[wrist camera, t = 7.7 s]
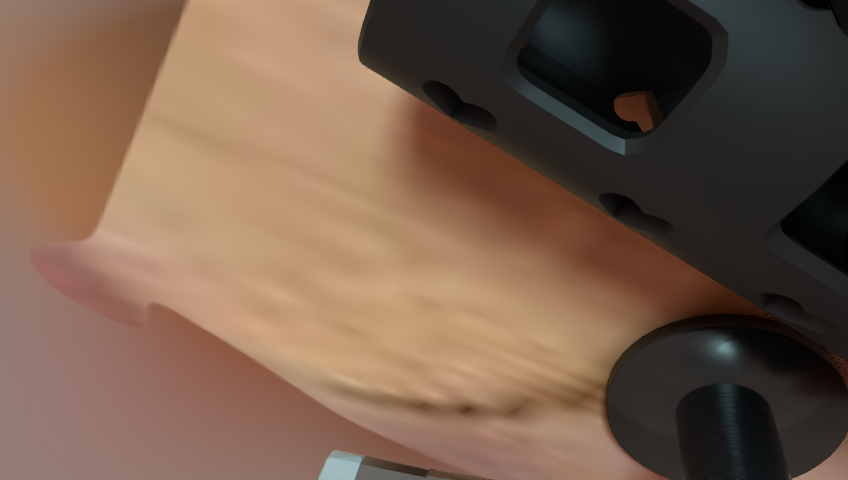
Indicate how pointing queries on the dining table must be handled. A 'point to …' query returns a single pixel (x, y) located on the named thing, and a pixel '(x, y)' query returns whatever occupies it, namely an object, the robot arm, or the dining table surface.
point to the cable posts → (727, 400)
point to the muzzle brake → (661, 124)
